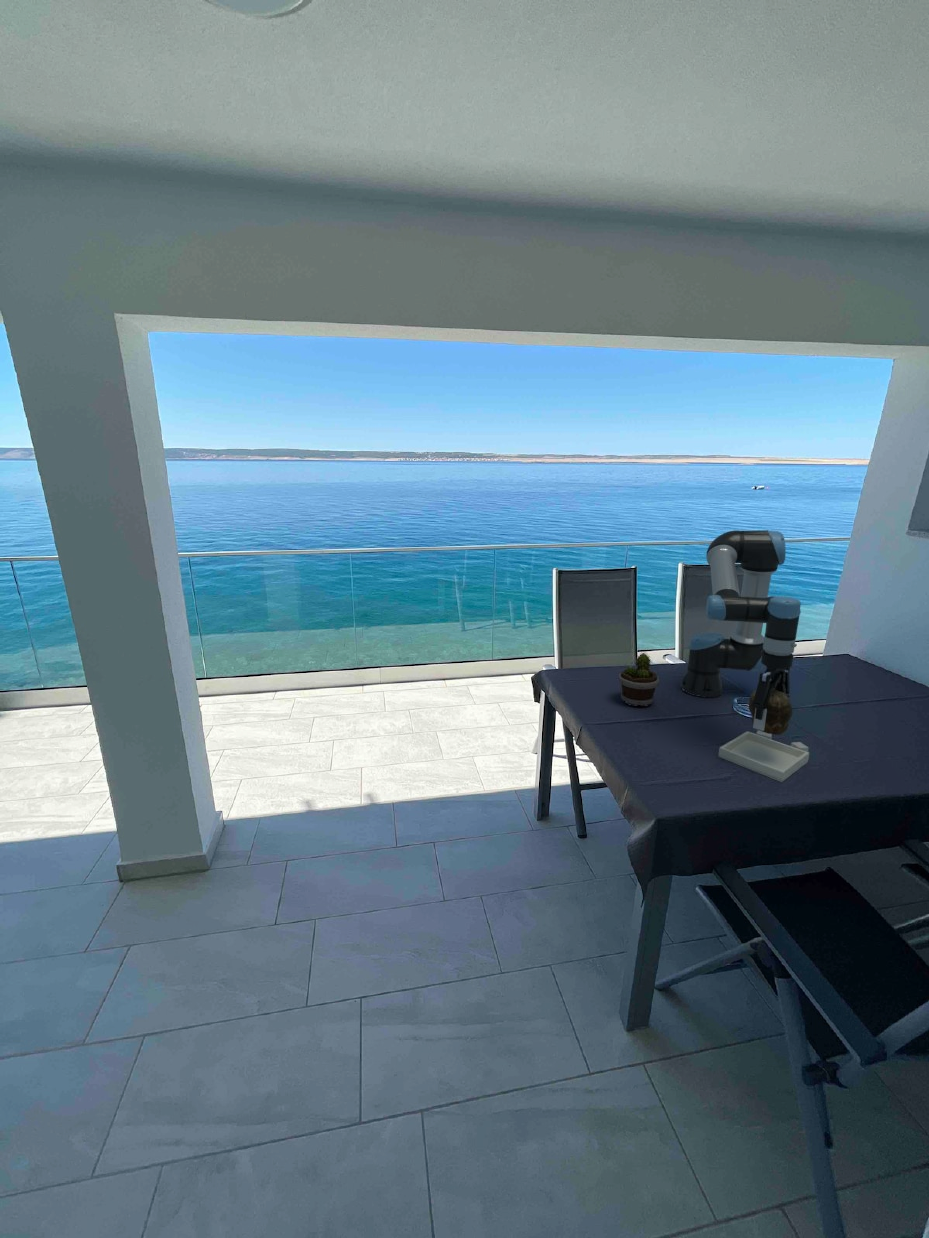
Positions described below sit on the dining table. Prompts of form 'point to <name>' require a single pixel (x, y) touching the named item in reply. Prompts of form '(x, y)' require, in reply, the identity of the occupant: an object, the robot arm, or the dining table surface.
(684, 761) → the dining table surface
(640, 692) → the flowerpot
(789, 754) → the dish
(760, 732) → the pebble
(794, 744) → the pebble
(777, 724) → the shell
